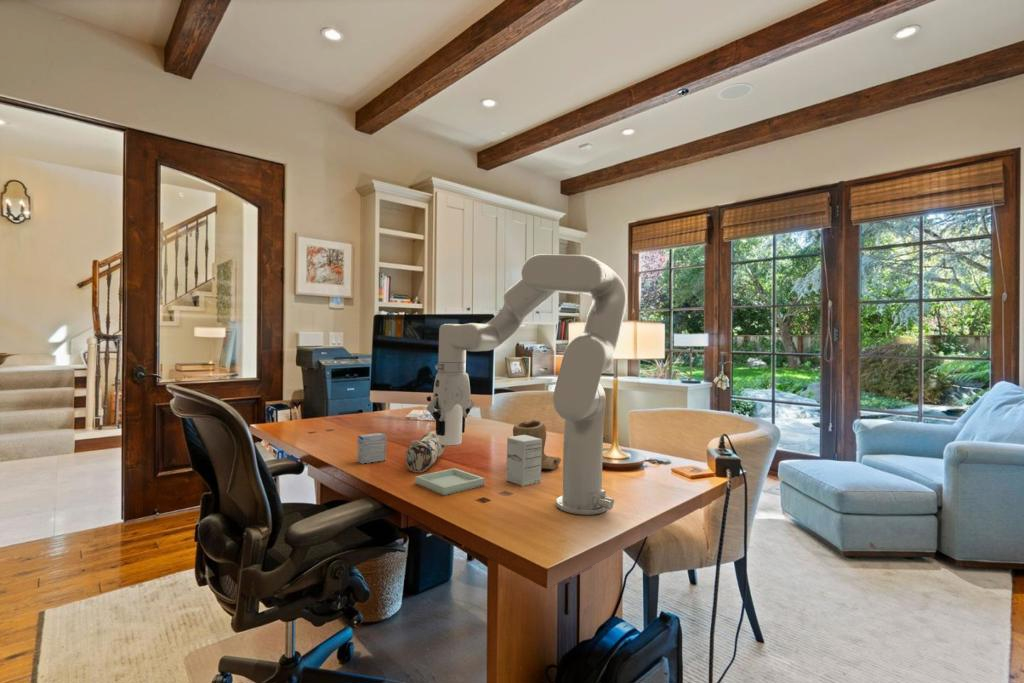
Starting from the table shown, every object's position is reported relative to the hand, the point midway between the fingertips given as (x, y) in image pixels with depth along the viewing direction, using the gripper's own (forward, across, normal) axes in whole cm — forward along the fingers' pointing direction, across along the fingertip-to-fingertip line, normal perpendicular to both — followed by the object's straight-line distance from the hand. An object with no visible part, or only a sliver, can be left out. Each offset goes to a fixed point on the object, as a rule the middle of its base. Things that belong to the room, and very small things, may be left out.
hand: (450, 432), depth 134 cm
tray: (+14, 0, 0) cm, 14 cm away
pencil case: (+15, +8, +23) cm, 28 cm away
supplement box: (+15, +18, -11) cm, 26 cm away
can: (+3, 0, 0) cm, 3 cm away
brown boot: (+15, +31, -3) cm, 34 cm away
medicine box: (+15, -4, +37) cm, 40 cm away
